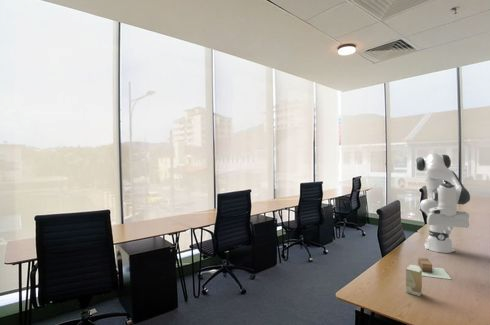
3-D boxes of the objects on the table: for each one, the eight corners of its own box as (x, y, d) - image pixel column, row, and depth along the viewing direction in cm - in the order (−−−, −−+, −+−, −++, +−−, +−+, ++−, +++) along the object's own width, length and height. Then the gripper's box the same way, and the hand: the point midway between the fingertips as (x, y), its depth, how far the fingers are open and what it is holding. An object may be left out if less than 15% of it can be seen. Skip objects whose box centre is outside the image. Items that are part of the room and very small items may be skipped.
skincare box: (405, 292, 133) (405, 268, 133) (408, 289, 136) (407, 266, 136) (420, 296, 128) (419, 271, 128) (422, 293, 131) (421, 269, 131)
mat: (409, 265, 168) (409, 264, 168) (443, 269, 161) (443, 268, 161) (413, 274, 153) (413, 274, 153) (451, 279, 146) (451, 279, 146)
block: (418, 257, 166) (422, 263, 156) (427, 258, 164) (432, 264, 154) (418, 265, 166) (422, 271, 156) (427, 266, 164) (432, 273, 154)
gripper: (466, 210, 156) (467, 233, 156) (426, 208, 164) (426, 230, 164) (471, 213, 150) (471, 236, 150) (428, 210, 158) (428, 233, 158)
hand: (447, 233), depth 157 cm, fingers closed
